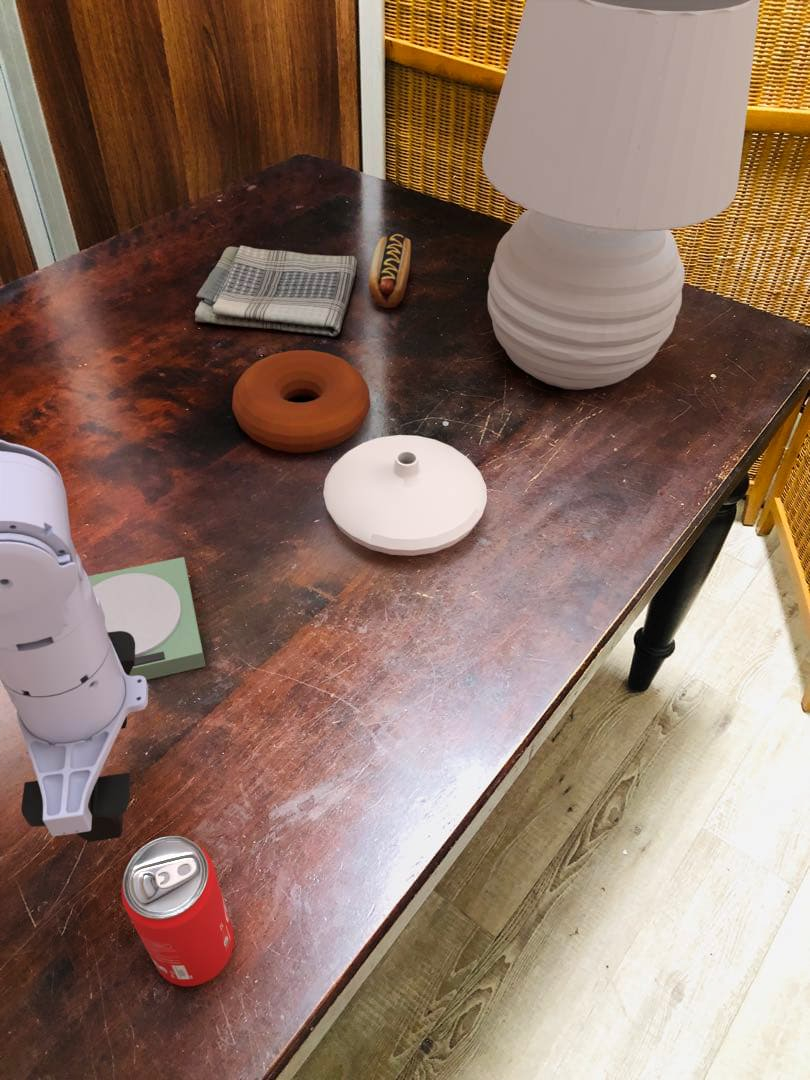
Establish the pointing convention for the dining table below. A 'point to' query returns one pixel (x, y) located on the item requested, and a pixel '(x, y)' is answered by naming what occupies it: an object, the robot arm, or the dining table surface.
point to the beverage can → (178, 910)
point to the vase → (405, 495)
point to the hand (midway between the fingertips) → (107, 777)
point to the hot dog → (390, 270)
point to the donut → (305, 423)
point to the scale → (153, 615)
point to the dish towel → (278, 291)
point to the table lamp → (611, 174)
